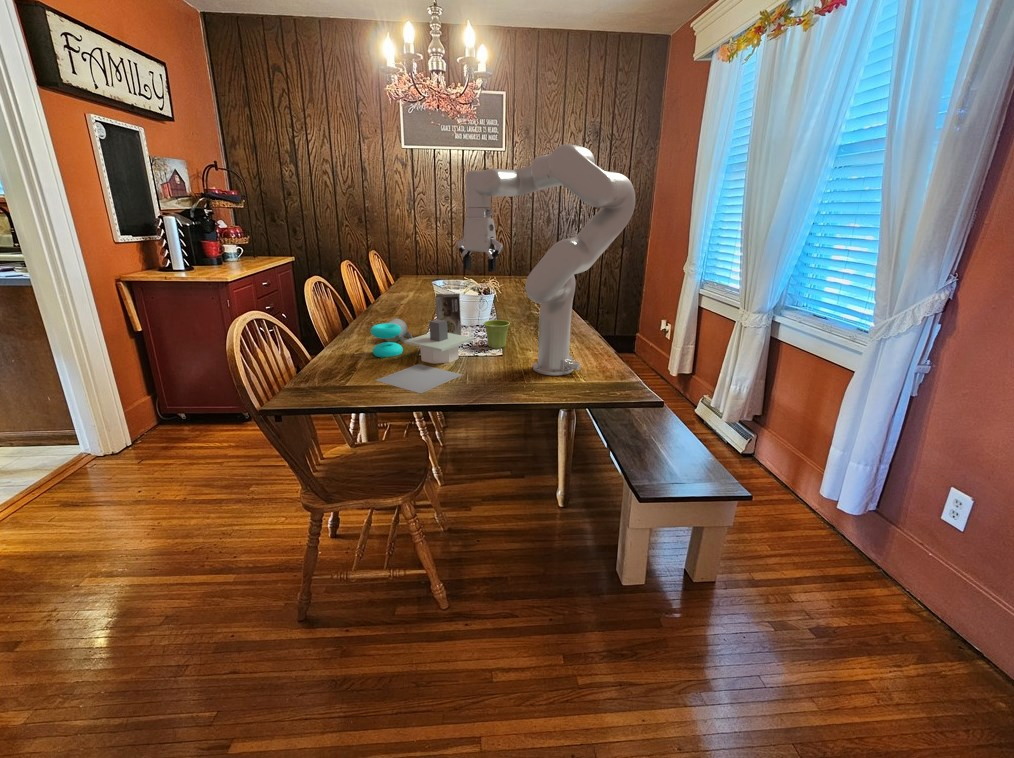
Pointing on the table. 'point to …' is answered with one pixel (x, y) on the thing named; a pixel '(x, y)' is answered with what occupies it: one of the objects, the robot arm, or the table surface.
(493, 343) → the plant pot
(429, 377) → the mat
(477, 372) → the table surface
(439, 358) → the bowl
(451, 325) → the coffee box
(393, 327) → the donuts
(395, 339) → the ceramic mug
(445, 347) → the lid
